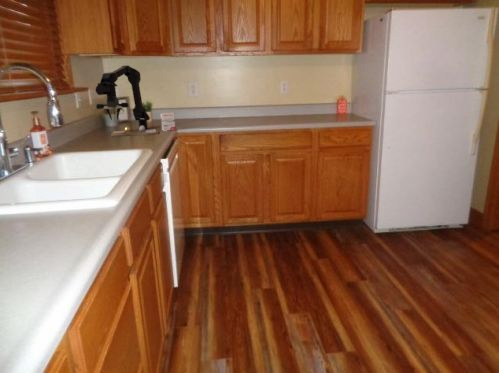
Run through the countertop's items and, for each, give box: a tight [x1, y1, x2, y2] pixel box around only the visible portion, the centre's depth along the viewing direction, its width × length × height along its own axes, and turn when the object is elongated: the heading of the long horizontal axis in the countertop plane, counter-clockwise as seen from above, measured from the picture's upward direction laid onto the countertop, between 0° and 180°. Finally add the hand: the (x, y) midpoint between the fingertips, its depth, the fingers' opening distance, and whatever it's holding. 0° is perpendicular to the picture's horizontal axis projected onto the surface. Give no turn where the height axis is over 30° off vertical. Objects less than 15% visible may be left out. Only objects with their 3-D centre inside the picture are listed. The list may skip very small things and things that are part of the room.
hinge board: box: [110, 125, 159, 138], centre depth 243 cm, size 12×28×5 cm, turn 104°
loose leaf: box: [112, 126, 132, 134], centre depth 242 cm, size 9×10×4 cm
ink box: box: [159, 112, 177, 132], centre depth 255 cm, size 8×5×12 cm, turn 114°
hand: (114, 119), depth 239 cm, fingers open, 3 cm apart
